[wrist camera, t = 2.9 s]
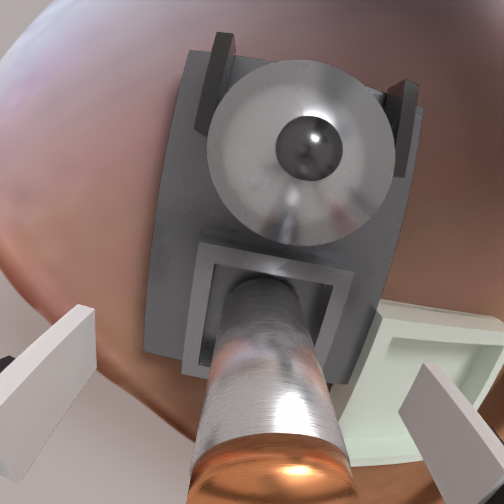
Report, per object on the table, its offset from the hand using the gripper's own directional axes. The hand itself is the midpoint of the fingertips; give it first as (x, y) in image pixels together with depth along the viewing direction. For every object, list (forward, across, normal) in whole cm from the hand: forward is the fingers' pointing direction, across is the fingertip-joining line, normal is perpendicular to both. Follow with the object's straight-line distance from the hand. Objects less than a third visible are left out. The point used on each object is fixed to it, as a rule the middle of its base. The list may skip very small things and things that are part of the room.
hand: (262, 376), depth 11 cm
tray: (+7, +12, -4) cm, 15 cm away
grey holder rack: (+7, 0, +4) cm, 8 cm away
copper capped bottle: (+5, 0, 0) cm, 5 cm away
